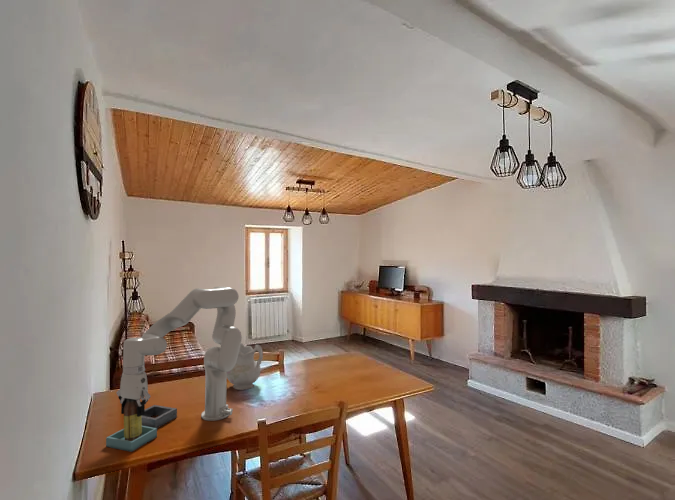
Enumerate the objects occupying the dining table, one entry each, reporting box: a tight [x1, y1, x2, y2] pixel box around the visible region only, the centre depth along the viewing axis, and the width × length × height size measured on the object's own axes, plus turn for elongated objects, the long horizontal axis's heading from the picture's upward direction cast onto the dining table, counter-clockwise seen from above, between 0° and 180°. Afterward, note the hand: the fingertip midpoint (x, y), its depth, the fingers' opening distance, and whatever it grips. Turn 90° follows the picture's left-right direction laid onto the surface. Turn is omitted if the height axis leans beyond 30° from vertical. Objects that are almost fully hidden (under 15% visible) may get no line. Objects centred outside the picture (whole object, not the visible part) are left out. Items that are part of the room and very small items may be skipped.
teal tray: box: [105, 426, 158, 453], centre depth 150 cm, size 13×13×4 cm
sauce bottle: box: [123, 398, 142, 441], centre depth 151 cm, size 7×6×20 cm
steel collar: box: [141, 404, 178, 429], centre depth 169 cm, size 13×13×4 cm
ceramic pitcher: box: [226, 342, 264, 391], centre depth 216 cm, size 22×20×25 cm
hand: (132, 413), depth 150 cm, fingers open, 7 cm apart
